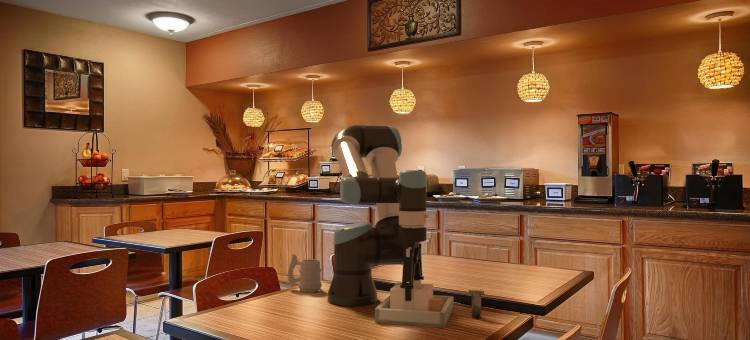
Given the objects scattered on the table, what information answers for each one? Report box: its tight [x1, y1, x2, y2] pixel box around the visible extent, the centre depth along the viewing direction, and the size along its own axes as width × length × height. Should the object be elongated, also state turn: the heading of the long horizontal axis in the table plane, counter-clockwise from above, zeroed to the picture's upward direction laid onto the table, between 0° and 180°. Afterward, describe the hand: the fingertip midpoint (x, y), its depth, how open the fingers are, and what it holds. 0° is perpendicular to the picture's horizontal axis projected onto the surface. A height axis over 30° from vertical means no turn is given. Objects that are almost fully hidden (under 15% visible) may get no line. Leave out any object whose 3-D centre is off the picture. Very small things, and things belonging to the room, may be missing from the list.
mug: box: [287, 253, 323, 293], centre depth 175 cm, size 8×12×12 cm, turn 80°
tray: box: [374, 294, 455, 329], centre depth 143 cm, size 18×20×4 cm
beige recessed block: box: [389, 281, 442, 312], centre depth 143 cm, size 13×10×6 cm
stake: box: [468, 289, 485, 319], centre depth 140 cm, size 4×2×7 cm, turn 75°
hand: (412, 308), depth 143 cm, fingers closed on beige recessed block, 10 cm apart
